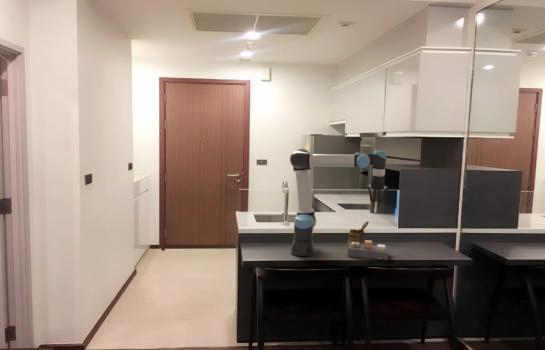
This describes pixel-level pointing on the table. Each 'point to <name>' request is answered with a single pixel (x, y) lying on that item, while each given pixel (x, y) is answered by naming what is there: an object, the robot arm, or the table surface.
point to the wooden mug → (356, 234)
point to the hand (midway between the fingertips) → (375, 212)
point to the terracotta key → (368, 244)
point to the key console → (367, 252)
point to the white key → (380, 247)
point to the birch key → (355, 244)
